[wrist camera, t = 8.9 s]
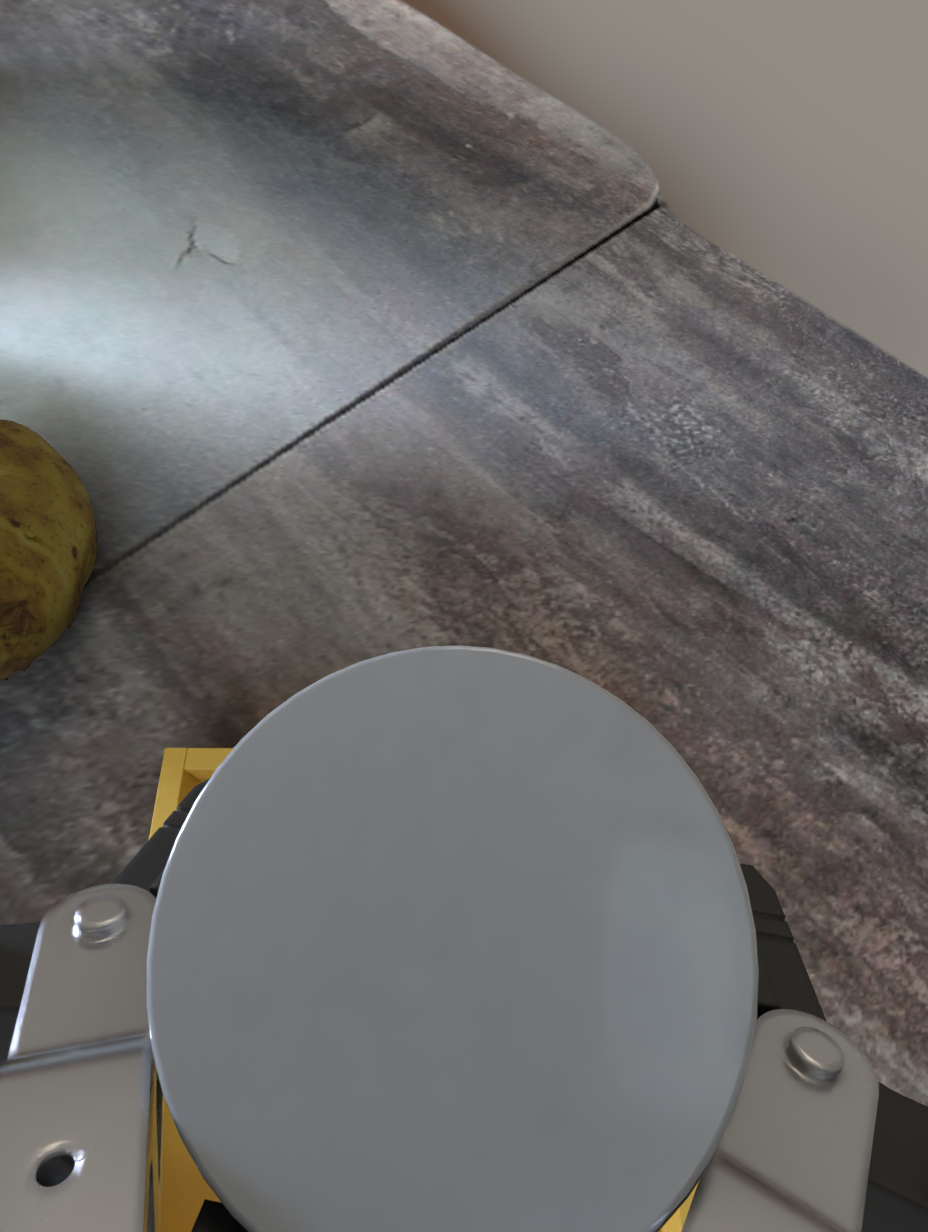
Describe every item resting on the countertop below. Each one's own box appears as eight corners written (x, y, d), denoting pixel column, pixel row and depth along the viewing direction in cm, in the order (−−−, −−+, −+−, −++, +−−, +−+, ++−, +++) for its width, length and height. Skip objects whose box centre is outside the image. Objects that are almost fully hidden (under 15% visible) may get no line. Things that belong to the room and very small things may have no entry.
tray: (636, 770, 30) (656, 748, 27) (685, 1271, 23) (718, 1316, 20) (194, 769, 30) (164, 747, 27) (115, 1270, 23) (64, 1314, 20)
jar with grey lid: (597, 808, 17) (754, 611, 8) (614, 1128, 14) (885, 1412, 5) (330, 803, 17) (167, 600, 8) (300, 1120, 14) (1, 1385, 5)
